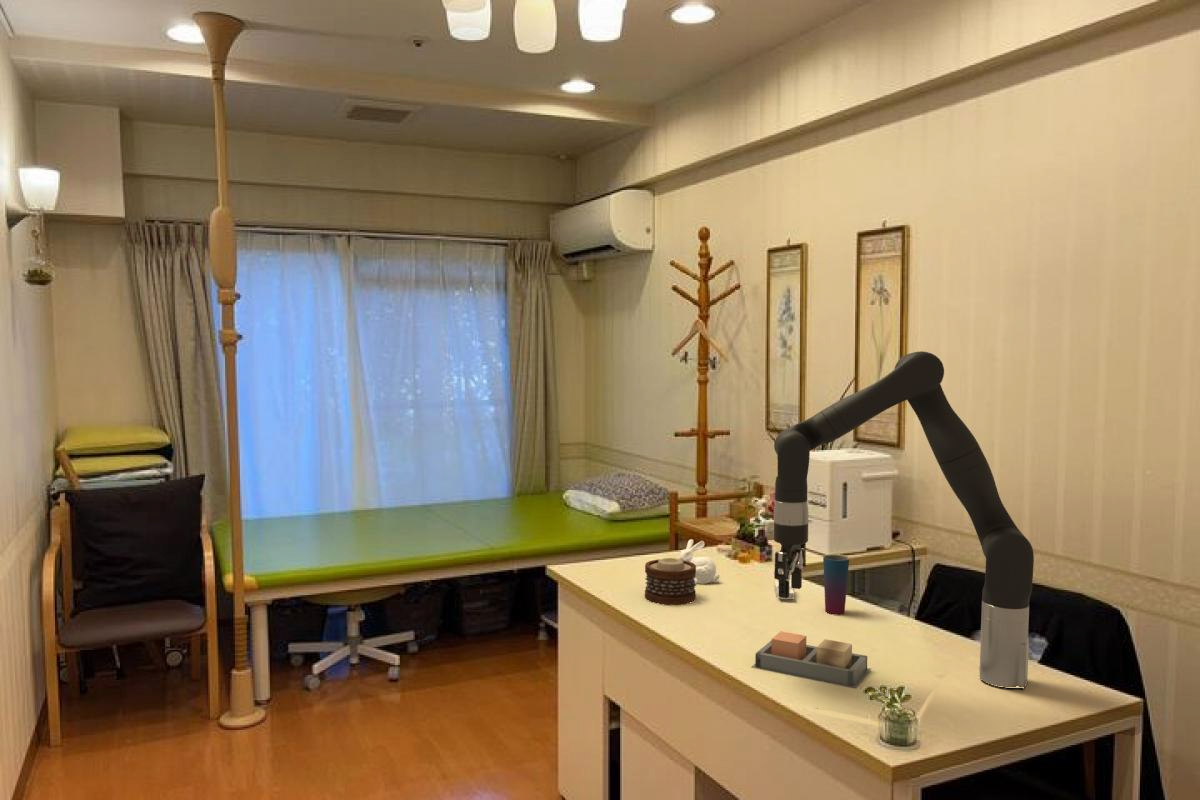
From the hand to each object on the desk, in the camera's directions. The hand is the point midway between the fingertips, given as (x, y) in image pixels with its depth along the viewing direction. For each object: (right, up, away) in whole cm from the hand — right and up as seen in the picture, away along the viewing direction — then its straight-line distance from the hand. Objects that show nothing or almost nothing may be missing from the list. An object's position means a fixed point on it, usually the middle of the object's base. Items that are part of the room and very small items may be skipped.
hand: (790, 592), depth 200 cm
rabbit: (-13, -12, +73) cm, 75 cm away
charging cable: (+12, -13, +67) cm, 69 cm away
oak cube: (+9, -17, -4) cm, 19 cm away
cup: (+21, -15, +43) cm, 50 cm away
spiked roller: (-22, -14, +56) cm, 61 cm away
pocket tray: (+4, -17, -1) cm, 18 cm away
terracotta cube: (0, -16, +1) cm, 16 cm away
